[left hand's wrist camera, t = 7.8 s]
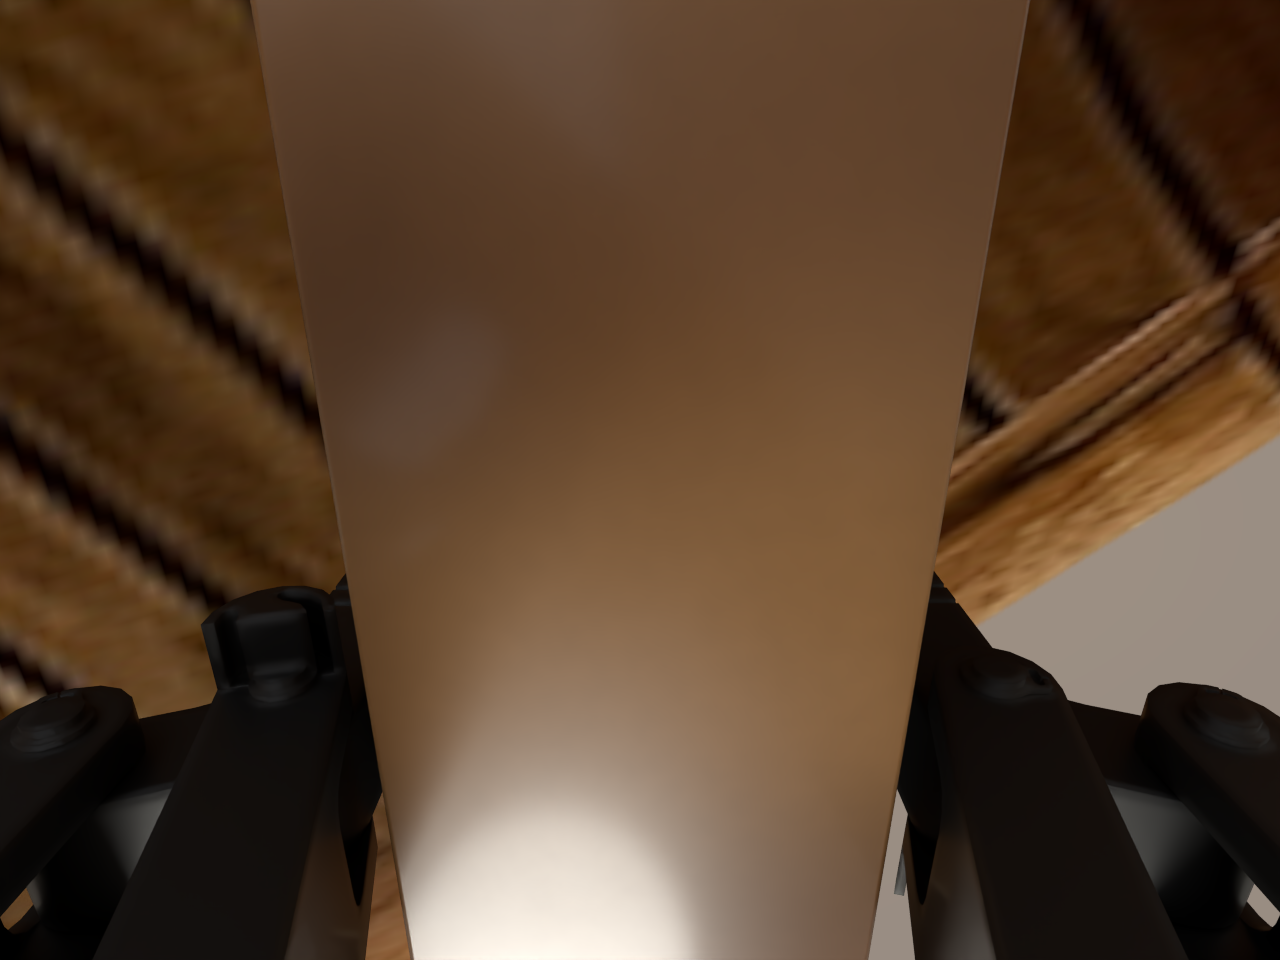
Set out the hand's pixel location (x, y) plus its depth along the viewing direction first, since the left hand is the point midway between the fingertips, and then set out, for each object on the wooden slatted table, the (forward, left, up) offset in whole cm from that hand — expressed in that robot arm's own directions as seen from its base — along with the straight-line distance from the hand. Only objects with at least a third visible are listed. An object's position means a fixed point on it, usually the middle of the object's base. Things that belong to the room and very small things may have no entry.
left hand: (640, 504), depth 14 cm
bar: (-9, +9, -1) cm, 13 cm away
